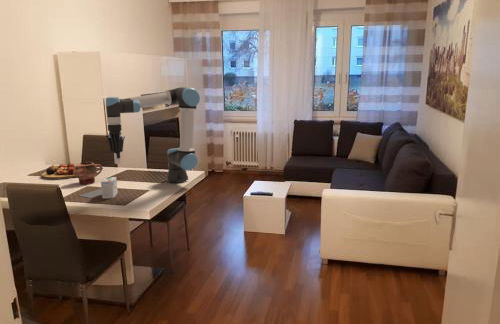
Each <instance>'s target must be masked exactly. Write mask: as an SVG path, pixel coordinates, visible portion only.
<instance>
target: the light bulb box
mask: <svg viewBox="0 0 500 324" xmlns="http://www.w3.org/2000/svg"><path fill="white" fill-rule="evenodd" d="M100 185H101V186H100V187H101V188H102V195H101V197H102V199H114V198H115V197H116V196H117V194H118V193H119V192H118V182H117V176H108V177H104V179H102V180H101V181H100ZM101 188H100V189H101Z"/></svg>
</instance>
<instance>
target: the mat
mask: <svg viewBox="0 0 500 324" xmlns="http://www.w3.org/2000/svg"><path fill="white" fill-rule="evenodd" d="M81 196H82V198H88V199H94V198H96V197H99V196H102V188H98V189H95V190H93V191H89V192H86V193H83V194H81V195H78V197H81Z"/></svg>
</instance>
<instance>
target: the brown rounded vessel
mask: <svg viewBox="0 0 500 324" xmlns="http://www.w3.org/2000/svg"><path fill="white" fill-rule="evenodd" d="M74 166H75V169H74V171H73V174H74V175H75V176H77V177H76V178H78V183H79V184H80V185H90V184H94V183H95V181H96V180H95V179H96V178H95V177H98V176H99V175H100V174H101V172H102V171H103V166H102V165H101V164H99V163H98V164H97V163H96V164H95V163H94V162H90V161H89V162H85V161H84V162H81V163H78V164H76V165H74ZM97 168H100V170H99V171H98V169H97ZM97 171H98V172H97Z"/></svg>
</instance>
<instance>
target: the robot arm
mask: <svg viewBox="0 0 500 324" xmlns="http://www.w3.org/2000/svg"><path fill="white" fill-rule="evenodd" d="M200 100H201V96H200V93H199V91H198V90H197V89H195V88H194V87H184V86H183V87H177V88H172V89H168V90H165V91H164V92H159V93H151V94H146V95H145V94H144V95H140V96H134V97H127V98H119V97H118V96H108V97H106V98H105V109H106V110H105V111H106V123H107V131H108V134H107V135H106V136H105V137H106V139H107V142H108V147H109V151H110V152H112V153H113V158H114V165H119V164H121V153H122V152H123V151H124V144H125V143H124V142H125V137H126V135H125V136H124V135H122V132H121V131H122V130H123V129H122V124H121V123H122V120H121V118H122V117H121V114H131V113H132V114H135V113H140V111H141V109H144V108H145V109H146V108H150V107H157V106H163V105H167V106H171V105H177V106H178V109H179V111H180V129H179V135H180V136H179V137H180V139H179V147H175V148H169V149H168V150H167V167H168V171H167V175H166V182H167V183H169V182H170V183H169V184H179V183H178V182H182V183H184V182H183V181H186V180H188V181H189V175H188V173H187V171H192V170H194V169H195V168H196V167H197V166H198V162H199V158H198V156H197V155H196V149H195V148H194V128H195V127H194V125H195V124H194V122H195V121H194V120H195V111H196V110H197V105H199V103H200ZM186 182H187V181H186Z"/></svg>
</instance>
